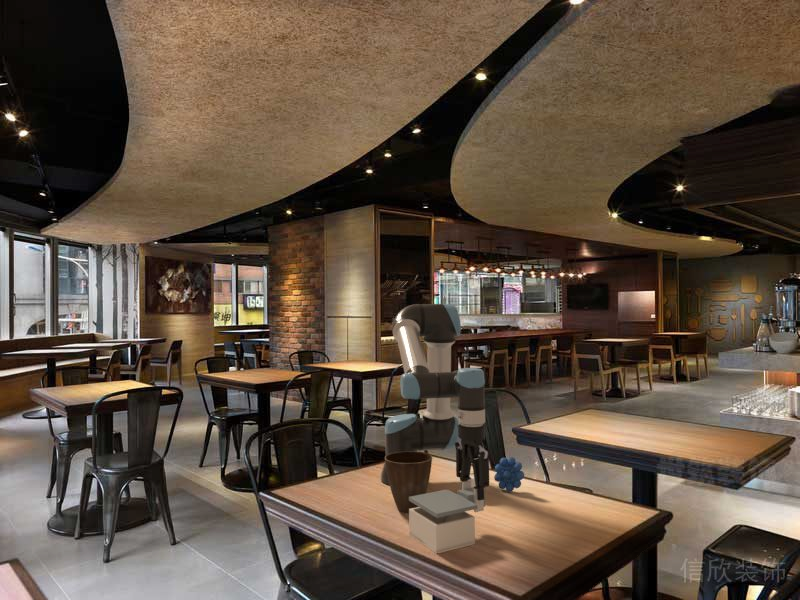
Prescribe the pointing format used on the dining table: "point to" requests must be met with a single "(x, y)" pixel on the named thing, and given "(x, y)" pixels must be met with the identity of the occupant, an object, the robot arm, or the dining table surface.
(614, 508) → the dining table surface
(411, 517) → the tub
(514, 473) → the grapes
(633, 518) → the dining table surface
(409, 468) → the plant pot
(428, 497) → the lid
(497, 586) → the dining table surface
